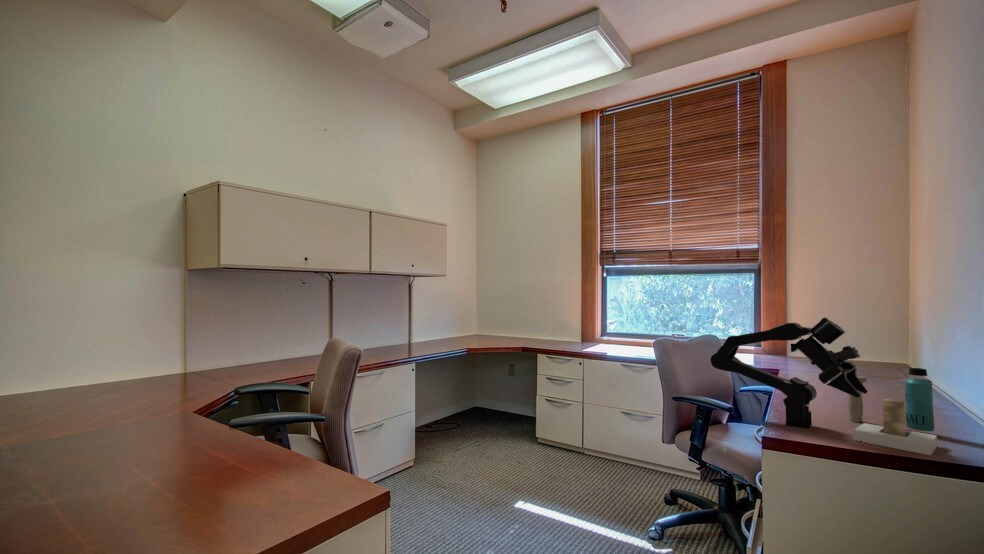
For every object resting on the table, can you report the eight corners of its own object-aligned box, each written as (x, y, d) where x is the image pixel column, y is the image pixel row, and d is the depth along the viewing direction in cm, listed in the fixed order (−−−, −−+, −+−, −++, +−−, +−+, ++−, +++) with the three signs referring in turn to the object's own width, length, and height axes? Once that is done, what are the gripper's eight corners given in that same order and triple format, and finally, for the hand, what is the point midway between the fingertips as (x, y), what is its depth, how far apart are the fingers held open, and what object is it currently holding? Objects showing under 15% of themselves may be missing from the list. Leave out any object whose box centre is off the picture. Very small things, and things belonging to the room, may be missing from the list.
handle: (871, 423, 147) (869, 378, 148) (849, 422, 148) (847, 377, 149) (862, 420, 152) (860, 375, 153) (841, 418, 153) (839, 375, 154)
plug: (884, 443, 127) (882, 400, 127) (887, 440, 129) (885, 398, 130) (903, 446, 124) (901, 403, 124) (905, 443, 126) (903, 401, 127)
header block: (854, 440, 129) (853, 429, 129) (864, 432, 137) (863, 423, 137) (931, 455, 117) (930, 443, 117) (937, 446, 124) (936, 435, 124)
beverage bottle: (929, 432, 138) (926, 367, 139) (939, 437, 132) (936, 370, 133) (902, 429, 141) (899, 365, 142) (911, 434, 135) (908, 368, 136)
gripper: (830, 338, 132) (880, 381, 122) (846, 336, 143) (893, 375, 134) (800, 362, 137) (845, 405, 128) (818, 358, 149) (861, 396, 140)
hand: (862, 394), depth 133 cm, fingers open, 9 cm apart
